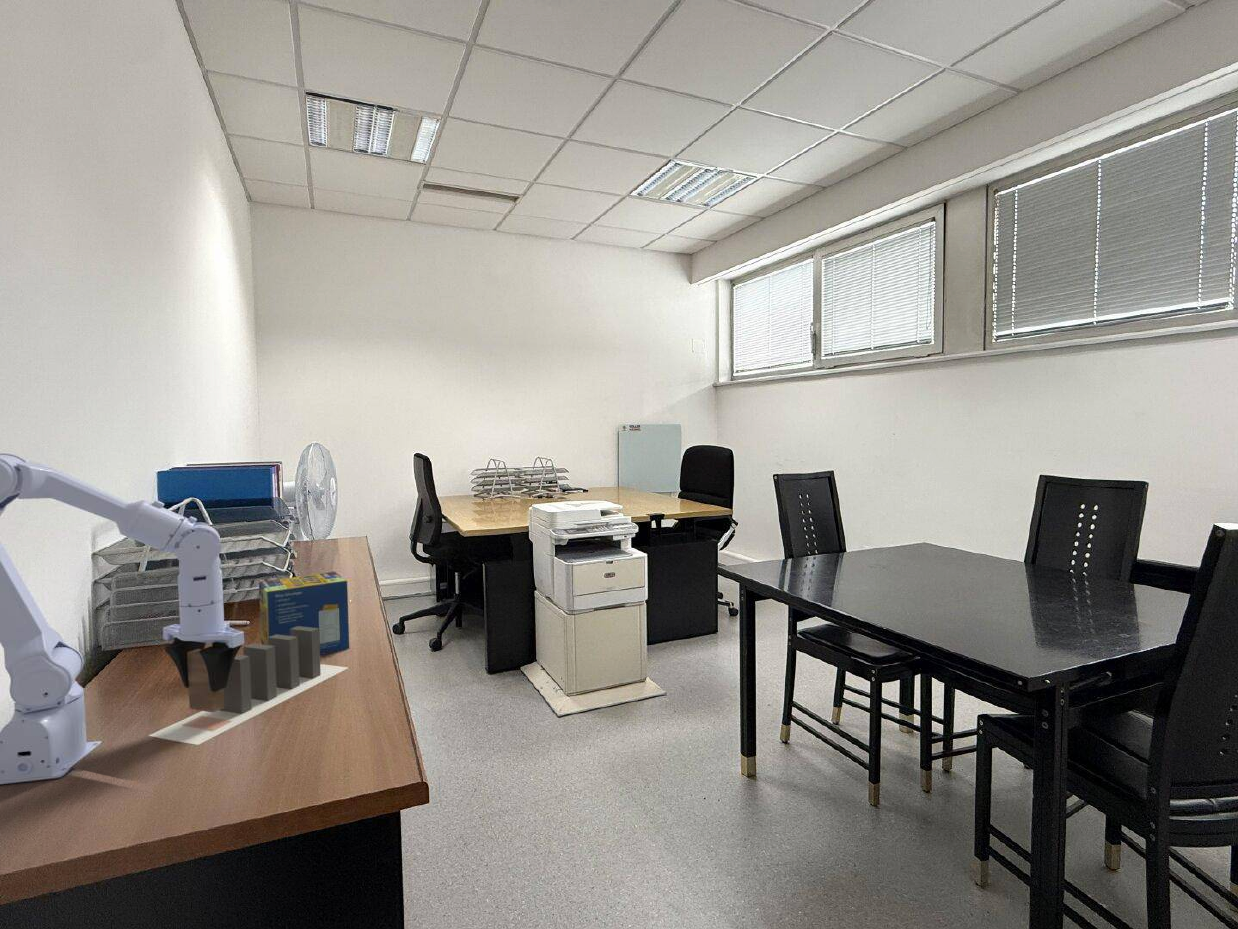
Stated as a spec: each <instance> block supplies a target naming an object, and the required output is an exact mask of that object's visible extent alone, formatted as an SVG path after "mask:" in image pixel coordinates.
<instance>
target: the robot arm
mask: <svg viewBox="0 0 1238 929" xmlns="http://www.w3.org/2000/svg"><path fill="white" fill-rule="evenodd" d="M16 499H19V500H28V499H30V500H31V499H34V500H35V499H52V500H53V499H54V500H56V501H58V502H61V503H63V504H66V505H69V506H72V507H75V508H76V509H80V510H83V511H86V512H88V513H90V514H93V515H95V516H98V517H101V518H104V519H105V520H106V519H107V520H109V521H112V522H115V524H116V526H117V529H118V532H119V534H120V535H122V536H125V537H127V538H130V539H132V540H134V541H137V542H139V543H141V544H144V545H147V546H149V547H150V548H151V547H152V548H154V549H157V550H159V551H161V552H164V553H173V554H174V555H175V558H176V559H177V560H178V570H179V574H178V575H177V586H178V587H177V588H178V591H177V592H178V611H179V624H178V623H177V624H176V623H175V624H170V625H167V626H164V627H162V634H163V635H162V638H163V640H165V641H171V640H173V641H172V643H171V644H168V645H165V647H164V652H166V654H167V655H168V656H169V657H170V658H171V659H172V661H173V663H174V664H175V667H176V668H177V671H178V673H179V675H180V677H181V678H180V679H181V681H182V684H183V686H184V688H185V689H189V682H188V665H187V652H190V651H193V650H196V649H202V650H199V653H200V655H201V656H202V658H203V660H204V662H205V665H206V667H207V671H208V678H209V685H210V689H211V691H212V692H216V691H218V690H221V689H223V688H225V687H226V686H227V681H228V677H229V673H230V669H231V666H232V663H233V661H234V658H235V656H236V654H237V655H238V652H239V650H240V649H241V647H242V645H244V644H245V631H241V630H237V629H235V628H233V627H230V622H228V621H225V611H224V610H225V609H224V591H223V590H224V588H223V570H222V569H221V564H222V563H221V558H220V554H221V551H222V548H223V547H222V544H221V537H220V534H219V532H218V531H217V530H216V529H215V528H214V527H212V526H211V525H209V524H208V523H207V522H197V519H198V518H196V517H194V516H189V517H188V518H187V517H186V516H183V515H181V514H178V513H177V512H174V511H171V510H169V509H167V508H166V507H164V506H165V503H164V502H162V501H159V500H157V499H156V500H153V502H152V501H149V500H146V499H143V500H139V501H135V502H134V501H133V502H128V501H126V500H124V499H121V498H120V497H117V496H116V495H113V494H111V493H108V492H107V491H104V490H102V489H100V488H98V487H96V486H94V485H91V484H89V483H87V482H85V481H82V480H80V478H77V477H75V476H72V475H70V474H68V473H65V471H62V470H58V469H56V468H53V467H52V466H48V465H46V464H43V463H39V462H37V461H36V462H35V461H32V460H31V461H27V460H26V459H24V458H23V457H20V456H19V455H16V454H11V453H0V517H1V515H2V514H3V513H4V512H5V510H6V508H7V506H8V505H10V504H11V503H12V502H14V500H16ZM21 576H22V575H20V573H19V571H18V569H17V568H16V566H15V564H14V563H13V561H12V558H11V557H10V556H9V553H8V552H7V550H6V549H5V547H4V545H3V543H2V542H1V540H0V645H1V646H2V649H3V653H4V654H3V655H4V667H5V668H4V669H5V670H6V672H7V674H8V675H9V680H10V684H9V695H10V698H11V699H12V700H13V702H14V709H13V710H14V712H13V715H12V717H11V720H10V721H9V722H8V723H7V724H6V725H4V726H3V727H2V729H1V730H0V785H4V784H5V785H6V784H16V783H23V782H33V781H42V780H50V779H58V778H62V777H63V776H64V775H66V774H67V773H68V772H70V771H71V770H72V769H73V766H75V764H77V763H78V762H79V761H80V760H81V759H83V758H84V757H85V756H86V755H88V754H89V753H90V752H91V751H93V749H95V748H96V747H98V746H99V745H101V743H102V741H101V740H96V741H87V725H86V709H85V695H84V694H85V689H84V687H83V686H81V685H80V684H79V683H78V681H76V678H78V676H79V675H80V673H81V672H82V670H83V668H84V657H83V655H82V652H80V651H79V650H78V649H77V648H76V647H73V646H71V645H70V644H68V643H67V642H66V641H65V640H64V638H63V637H62V636H61V634H60V633H59V632H58V631H57V630H55V629H53V628H52V627H51V626H50V624H49V623H48V622H47V619H46V617H45V616H44V615H43V612H42V611H41V609H40V608H39V606H38V604H37V602H36V601H35V598H34V597H33V595H32V593H31V592H30V590H29V589H28V587H27V585H26V583H25V581H24V580H23V578H22V577H21ZM206 643H207V644H212V645H211V646H208V647H206Z"/></svg>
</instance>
